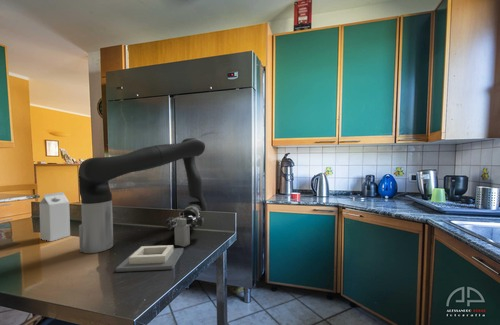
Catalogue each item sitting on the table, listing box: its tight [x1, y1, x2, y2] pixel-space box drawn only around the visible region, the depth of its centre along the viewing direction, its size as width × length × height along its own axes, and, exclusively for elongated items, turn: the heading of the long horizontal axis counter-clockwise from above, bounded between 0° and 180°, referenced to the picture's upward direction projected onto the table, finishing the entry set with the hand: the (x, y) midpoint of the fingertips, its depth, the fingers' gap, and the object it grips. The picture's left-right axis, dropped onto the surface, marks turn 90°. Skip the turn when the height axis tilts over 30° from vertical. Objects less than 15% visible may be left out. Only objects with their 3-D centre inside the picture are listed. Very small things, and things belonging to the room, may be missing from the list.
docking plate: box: [115, 244, 184, 273], centre depth 70 cm, size 16×13×3 cm
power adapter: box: [173, 211, 191, 247], centre depth 84 cm, size 3×5×12 cm, turn 64°
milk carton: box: [38, 191, 71, 242], centre depth 93 cm, size 7×7×19 cm
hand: (180, 226), depth 82 cm, fingers open, 8 cm apart
